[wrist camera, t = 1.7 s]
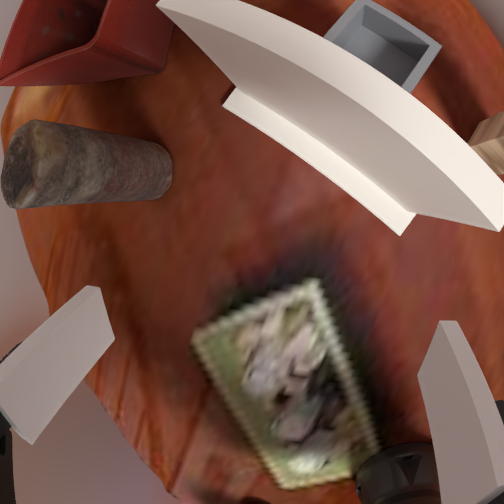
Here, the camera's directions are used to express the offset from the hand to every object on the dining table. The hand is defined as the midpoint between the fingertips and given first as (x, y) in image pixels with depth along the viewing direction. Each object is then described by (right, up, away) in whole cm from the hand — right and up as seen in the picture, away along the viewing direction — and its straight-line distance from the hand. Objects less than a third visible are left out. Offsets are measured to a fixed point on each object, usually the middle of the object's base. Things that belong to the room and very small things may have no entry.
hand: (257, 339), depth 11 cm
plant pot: (-17, +33, +23) cm, 44 cm away
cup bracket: (+10, +18, +19) cm, 28 cm away
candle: (-13, +13, +26) cm, 32 cm away
